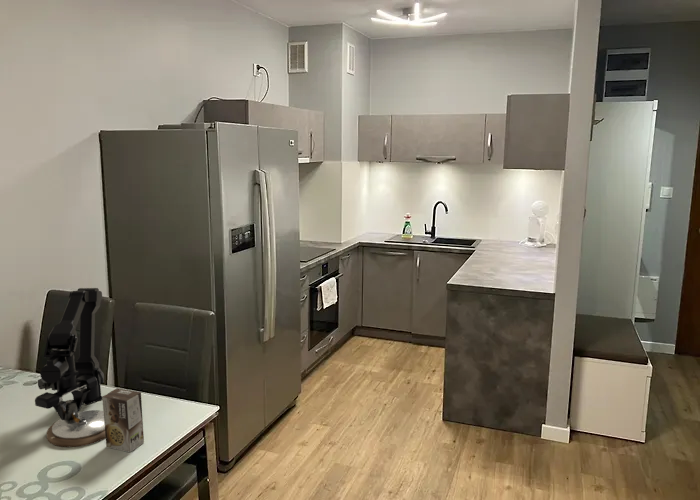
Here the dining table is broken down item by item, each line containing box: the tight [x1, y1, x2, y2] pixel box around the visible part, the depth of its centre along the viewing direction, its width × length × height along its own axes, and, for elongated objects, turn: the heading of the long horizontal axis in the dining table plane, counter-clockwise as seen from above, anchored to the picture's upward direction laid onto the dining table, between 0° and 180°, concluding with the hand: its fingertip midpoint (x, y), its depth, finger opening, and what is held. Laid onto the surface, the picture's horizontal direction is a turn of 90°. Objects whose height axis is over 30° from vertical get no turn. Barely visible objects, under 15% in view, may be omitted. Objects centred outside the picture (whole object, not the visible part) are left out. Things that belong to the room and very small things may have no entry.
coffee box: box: [101, 387, 145, 453], centre depth 165 cm, size 9×6×16 cm
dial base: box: [46, 423, 106, 448], centre depth 175 cm, size 20×20×2 cm
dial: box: [52, 399, 105, 440], centre depth 174 cm, size 17×17×6 cm
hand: (70, 416), depth 177 cm, fingers open, 5 cm apart
